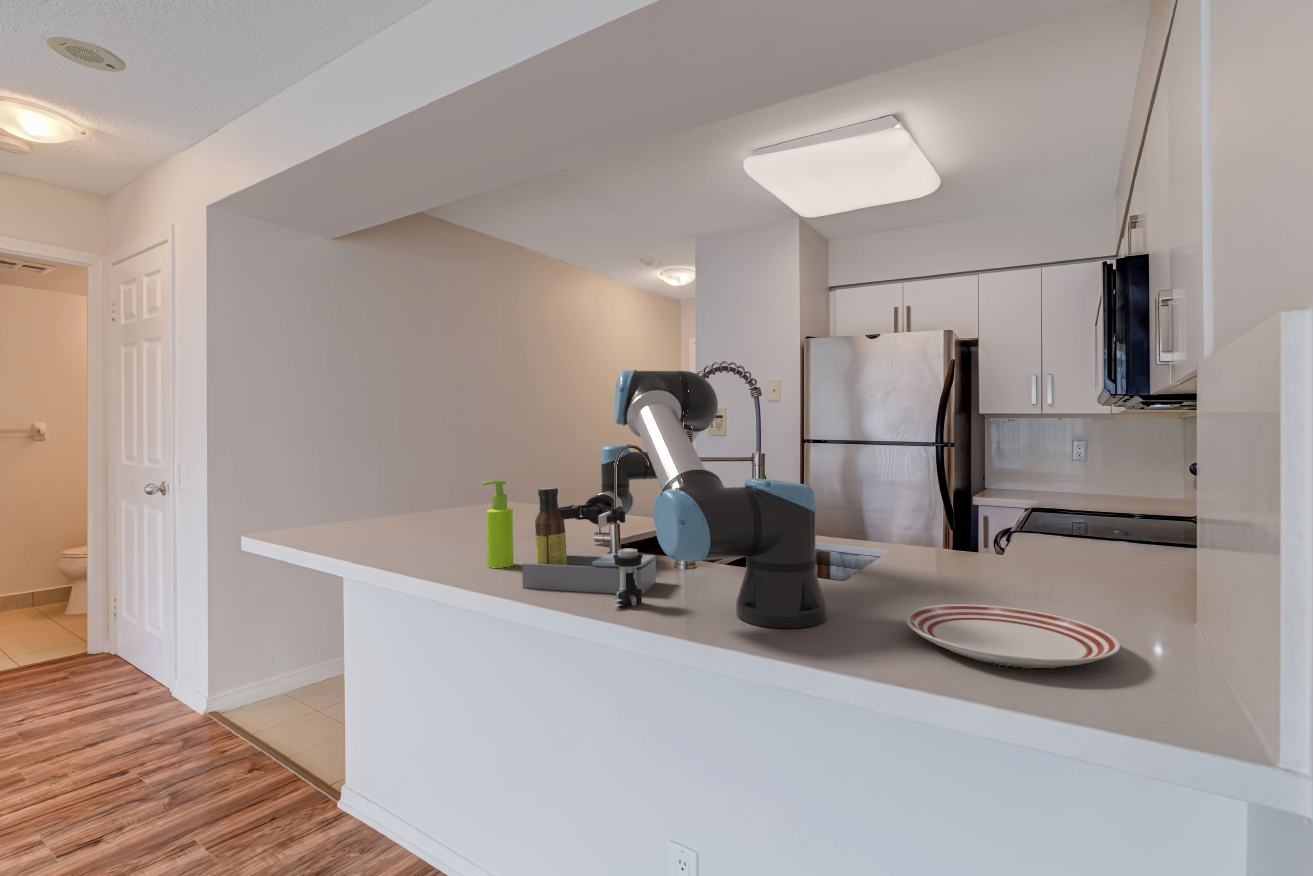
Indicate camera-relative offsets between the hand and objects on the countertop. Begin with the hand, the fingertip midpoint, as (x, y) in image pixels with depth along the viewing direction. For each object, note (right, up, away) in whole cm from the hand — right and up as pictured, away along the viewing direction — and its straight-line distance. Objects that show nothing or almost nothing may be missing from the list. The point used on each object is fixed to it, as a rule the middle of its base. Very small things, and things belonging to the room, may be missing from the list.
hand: (571, 520), depth 148 cm
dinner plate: (+70, -12, -51) cm, 88 cm away
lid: (+13, -6, -15) cm, 20 cm away
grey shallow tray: (+5, -12, -13) cm, 18 cm away
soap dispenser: (-18, -12, +6) cm, 22 cm away
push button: (+14, -12, -28) cm, 33 cm away
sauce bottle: (-3, -12, -10) cm, 16 cm away
